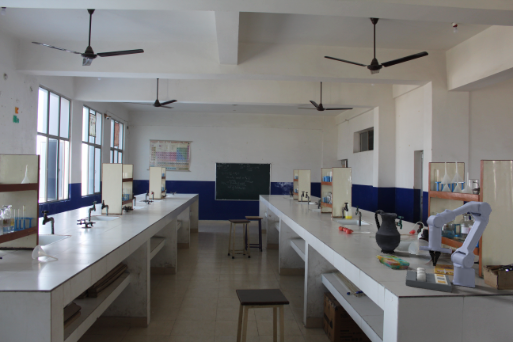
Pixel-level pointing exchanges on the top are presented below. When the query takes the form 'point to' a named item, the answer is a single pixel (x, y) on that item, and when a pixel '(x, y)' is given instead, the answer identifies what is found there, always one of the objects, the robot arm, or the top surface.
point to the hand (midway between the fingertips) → (434, 265)
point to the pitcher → (387, 232)
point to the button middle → (421, 271)
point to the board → (429, 281)
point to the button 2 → (421, 277)
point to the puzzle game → (393, 262)
